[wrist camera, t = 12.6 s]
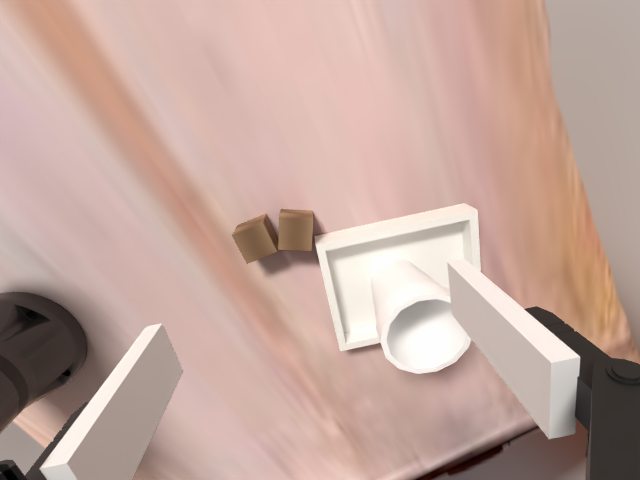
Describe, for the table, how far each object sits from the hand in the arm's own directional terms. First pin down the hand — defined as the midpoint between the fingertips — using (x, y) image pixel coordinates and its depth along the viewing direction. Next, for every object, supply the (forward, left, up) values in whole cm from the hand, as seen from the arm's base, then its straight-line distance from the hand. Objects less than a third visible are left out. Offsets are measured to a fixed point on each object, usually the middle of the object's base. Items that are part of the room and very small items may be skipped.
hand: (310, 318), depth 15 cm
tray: (+10, -14, -29) cm, 33 cm away
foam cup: (+9, -14, -28) cm, 33 cm away
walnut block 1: (-7, -4, -29) cm, 30 cm away
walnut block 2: (-2, -4, -29) cm, 29 cm away
